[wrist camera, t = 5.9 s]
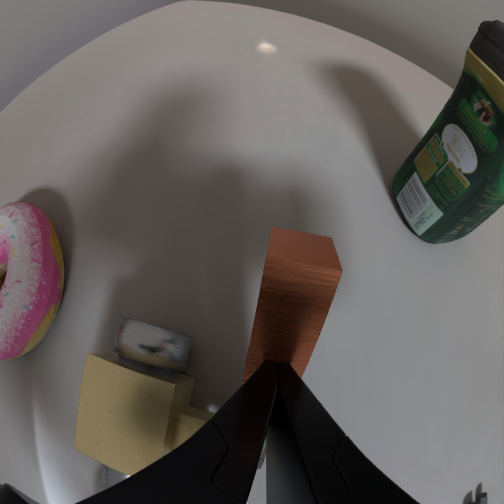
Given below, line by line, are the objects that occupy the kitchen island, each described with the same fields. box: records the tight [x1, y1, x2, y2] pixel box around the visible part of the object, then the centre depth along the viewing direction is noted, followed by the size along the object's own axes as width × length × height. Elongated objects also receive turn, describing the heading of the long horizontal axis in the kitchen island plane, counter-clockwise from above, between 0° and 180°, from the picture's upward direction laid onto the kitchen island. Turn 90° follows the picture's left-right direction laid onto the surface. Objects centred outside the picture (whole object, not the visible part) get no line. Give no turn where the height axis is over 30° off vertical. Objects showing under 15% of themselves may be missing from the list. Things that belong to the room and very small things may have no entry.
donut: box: [0, 202, 64, 360], centre depth 15 cm, size 14×13×5 cm
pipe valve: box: [75, 316, 214, 491], centre depth 11 cm, size 18×8×5 cm, turn 169°
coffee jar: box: [393, 20, 504, 244], centre depth 12 cm, size 10×8×19 cm
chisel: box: [241, 227, 342, 469], centre depth 10 cm, size 3×2×14 cm
